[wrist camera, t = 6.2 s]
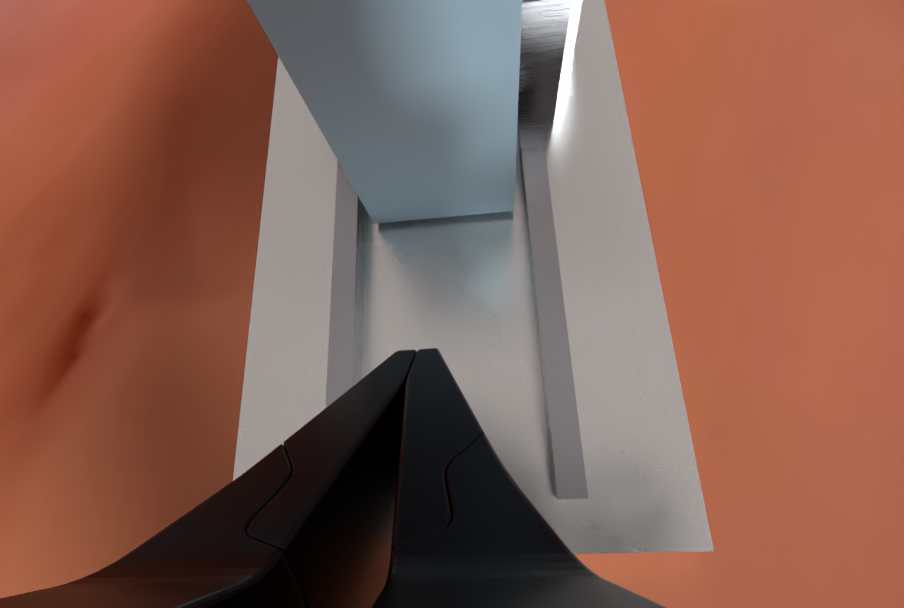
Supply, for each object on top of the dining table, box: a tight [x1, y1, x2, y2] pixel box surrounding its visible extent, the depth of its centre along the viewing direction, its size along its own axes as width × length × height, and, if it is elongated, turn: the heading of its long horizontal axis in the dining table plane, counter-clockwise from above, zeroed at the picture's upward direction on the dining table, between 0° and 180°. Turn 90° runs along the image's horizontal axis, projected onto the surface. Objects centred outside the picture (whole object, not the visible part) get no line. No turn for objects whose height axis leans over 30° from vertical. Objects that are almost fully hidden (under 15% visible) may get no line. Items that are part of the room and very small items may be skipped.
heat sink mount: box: [233, 0, 714, 554], centre depth 14 cm, size 24×14×7 cm, turn 3°
